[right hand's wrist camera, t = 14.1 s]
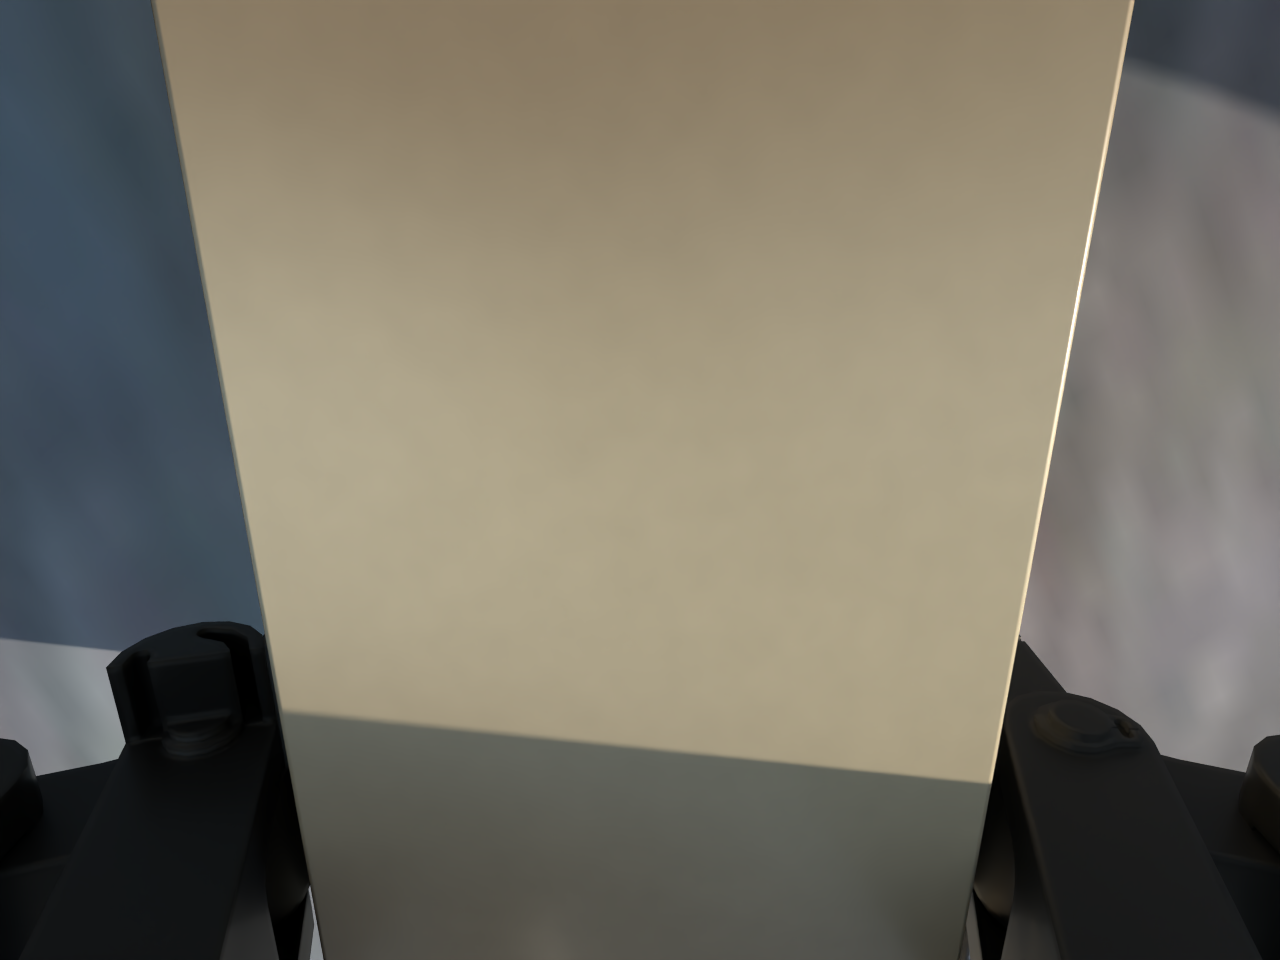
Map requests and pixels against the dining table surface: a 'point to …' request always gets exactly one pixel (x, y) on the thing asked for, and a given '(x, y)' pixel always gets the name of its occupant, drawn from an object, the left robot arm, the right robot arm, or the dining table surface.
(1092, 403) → the dining table surface
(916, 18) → the birch rail
